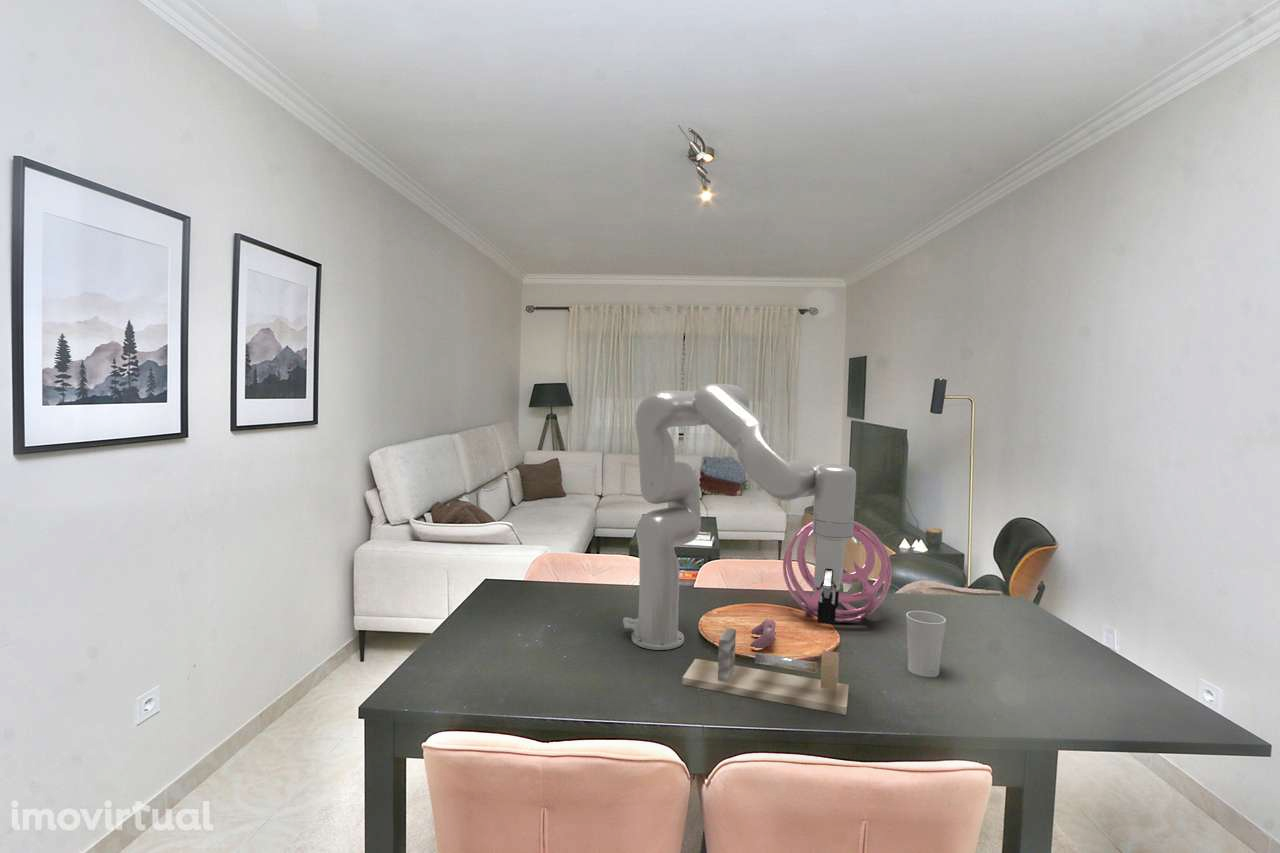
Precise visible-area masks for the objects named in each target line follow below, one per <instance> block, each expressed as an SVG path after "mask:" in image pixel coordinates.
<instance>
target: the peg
mask: <svg viewBox="0 0 1280 853" xmlns="http://www.w3.org/2000/svg"><path fill="white" fill-rule="evenodd" d="M754 656H755V657H754V663H755V664H760V665H766V666H773V667H778V668H784V669H789V670H795V671H801V672H806V673H807V672H808V673H814V674H817V672H818V662H817V661H816V662H815V661H809V660H804V659H799V658H792V657H786V656H785V657H784V656H781V655H773V654H768V653H767V654H766V653H762V652H761V653H760V652H755V655H754ZM839 658H840V652H839V651H832V650H825V649H823V650H822V655H821V665H820V666H821V667H820V680H821V685H820V688H825V689H830V690H836V691H837V683H839V682H838V681H839V678H838V677H839V662H840V661H839Z"/></svg>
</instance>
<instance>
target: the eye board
mask: <svg viewBox="0 0 1280 853" xmlns="http://www.w3.org/2000/svg"><path fill="white" fill-rule="evenodd" d="M736 635H737V629H736V628H732V627H725V629H724V631H723V632H722V634H721V636H720V637H719V639H718V660H717V661H712V660H705V659H701V658H695V659H694V660H693V662H692V663H691V665H690V666H689V667H688V668H687V670H686V672H685V673H684V675H683V676H682V682H681V683H682V685H683V686H687V687H688V686H689V687H693V688H698V689H705V690H710V691H715V692H720V693H726V694H732V695H736V696H742V697H747V698H752V699H758V700H764V701H769V702H775V703H780V704H785V705H790V706H795V707H801V708H805V709H806V708H807V709H811V710H816V711H822V712H827V713H834V714H839V715H844V716H847V710H848V700H849V699H848V698H849V687H850V685H849V684H848V683H841V682H838V683H837V691H836V690H830V689H825V688H820V685H821V679H817V678H814V677H813V678H811V677H806V676H800V675H795V674H788V673H783V672H782V673H781V672H775V671H770V670H765V669H759V668H753V667H747V666H741V665H736Z"/></svg>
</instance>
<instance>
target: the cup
mask: <svg viewBox="0 0 1280 853" xmlns="http://www.w3.org/2000/svg"><path fill="white" fill-rule="evenodd" d="M905 618H906V619H905V621H906V641H907V644H906V645H907V670H908V671H909V672H910V673H912V674H913V675H917V676H919V677H923V678H924V677H925V678H935V677H938V676H940V665H941V664H940V663H941V656H942V649H943V641H944V636H945V632H946V625H947V619H946V618H945V617H944V616H942V615H941V614H937V613H935V612H931V611H927V610H924V611H923V610H912V611H908V612H906V613H905Z"/></svg>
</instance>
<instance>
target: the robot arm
mask: <svg viewBox="0 0 1280 853" xmlns="http://www.w3.org/2000/svg"><path fill="white" fill-rule="evenodd" d="M635 412H636V413H635V419H634V421H635V430H636V431H635V432H636V437H637V438H636V439H637V444H638V445H637V446H638V466H639V484H640V485H639V486H640V493H641V496H642V499H643V500H644V501H646V503H647V502H648V503H649V504H653V505H659V504H666V503H667V507H664V508H659V509H654V510H650V511H648V512H647V513H645V514H643V515H642V516H641V517H640V518H639V520H638V521H637V525H636V530H635V532H636V533H635V534H636V540H637V547H638V556H639V574H638V576H639V585H638V586H639V588H638V592H639V593H638V617H636V618H632V617H626V616H625V617H623V619H622V625H623V628H624V629H627V630H632V632H631V641H632V643H633V644H635V645H636V646H638V647H641V648H643V649H647V650H654V651H665V650H666V651H667V650H668V651H669V650H673V649H677V648H678V647H680V646H682V645H683V644H684V643H685V635H684V634H683V632H681V631H680V630H679V600H680V565H679V560H678V557H677V554H676V552H675V551H676V550H675V548H676V547H679V546H682V545H685V544H689V543H691V542H693V541H695V539H696V538H698V536H699V534H700V531H701V526H702V525H701V523H702V516H701V515H702V514H701V499H700V498H701V495H700V482H699V478H698V475H697V473H696V471H695V469H694V468H693V467H692V466H691V465H690V464H688V463H686V462H683V461H676V458H675V445H674V444H675V443H674V441H673V438H672V436H671V434H670V432H669V431H668V429H670V428H673V427H675V428H676V427H677V428H678V427H679V428H681V427H697V426H707V425H708V426H709V427H710V428H711V429H712V430H713V431H715V433H716V434H718V435H719V436H720V437H721V438H722V439H723V440H724V441H725V442H727V443H728V444H729V445H730V446H731V447H732V448H733V449H734V450H735V452H736V455H737V458H738V460H739V463H740V464H741V466H742V469H743V470H744V472H745V473H746V474H747V475H748V477H750V479H751V480H753V481H754V482H755V483H756V484H757V485H758V486H759V487H760V488H762V490H763V491H765V492H766V493H768V495H770V496H771V497H773V498H775V499H777V500H779V501H783V502H784V501H785V502H787V501H792V500H796V499H801V498H807V497H813V498H814V499H813V500H814V501H813V515H812V517H813V518H812V519H813V520H812V521H813V532H812V534H811V535H812V536H814V537H816V538H817V539H816V541H817V546H816V557H815V556H814V561H815V562H814V573H813V577H814V584H813V587H814V588H815V589H817V587H818V588H819V587H820V586H821V587H820V588H821V589H820V600H819V601H818V610H817V613H818V617H816V621H817V622H818V623H819V624H826V625H831V626H833V625H835V624H836V622H835V618H836V616H835V615H836V609H837V608H839V602H838V596H839V593H840V592H839V591H840V589H841V584H842V583H841V581H842V576H843V573H844V570H845V569H844V568H845V559H846V558H845V557H846V544H847V541H850V540H852V539H854V538H853V537H854V536H853V527H854V526H853V523H854V521H855V501H856V486H857V484H856V483H857V472H856V470H855V469H854V468H853V467H851V466H848V465H844V464H833V463H832V464H831V463H830V464H827V463H822V462H819V461H816V460H812V459H794V460H788V461H786V460H785V459H784V458H782V456H780V455H779V454H778V453H777V452H775V451H774V450H773V449H772V448H771V447H770V446H769V445H768V443H767V442H766V441H765V440H764V438H763V434H764V432H765V429H766V425H765V422H764V420H763V419H762V417H760V416H759V415H757V414H756V413H755V412H754V411H752V410H751V409H750V400H749V396H748V394H747V393H746V391H745V390H744V389H743V388H742V387H740V386H738V385H735V384H730V383H708V384H706V385H703V386H701V387H700V388H698V389H697V390H671V389H670V390H668V389H667V390H661V391H655V392H652V393H650V394H648V395H647V396H646V397H645V398H643V400H642V401H640V403H639V405H638V407H637V409H636V411H635ZM823 583H824V586H823Z"/></svg>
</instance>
